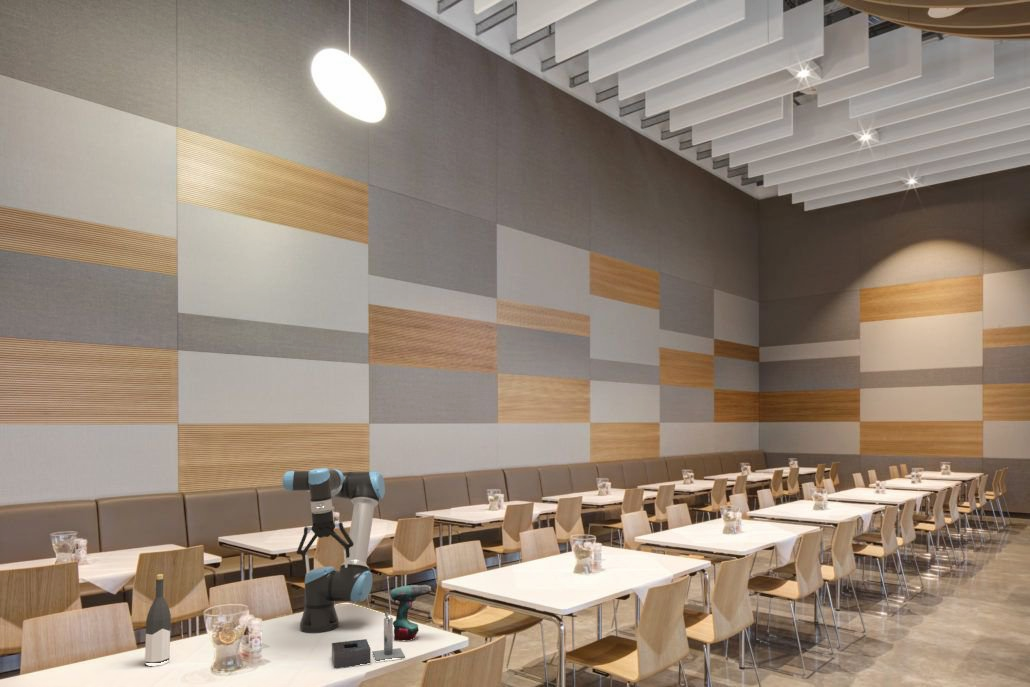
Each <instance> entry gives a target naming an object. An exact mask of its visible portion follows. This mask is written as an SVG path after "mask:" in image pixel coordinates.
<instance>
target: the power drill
mask: <svg viewBox="0 0 1030 687" xmlns="http://www.w3.org/2000/svg"><path fill="white" fill-rule="evenodd" d="M431 592H432V587H431V586H430V585H427V584H424V585H423V584H422V585H418V584H414V585H413V584H411V585H403V586H398V587H395V588H393V589H391V590H390V594H389V595H390V598H391V600H392V601H398V602H399V605H398V608H397V612H396V616H395V620H393V635H394V636H393V641H394V640H410V641H412V640H414V639H415V638H416V637H415V636H417V633H418V632H419V625H418V623H414V622H413V621H410V620H409V619H408V612H409V609H410V608H412V607H413V602H415V601H416V599H417V598H419V597H421V596H425V595H429V594H430V593H431ZM413 638H414V639H413ZM411 639H412V640H411Z"/></svg>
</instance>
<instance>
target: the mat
mask: <svg viewBox="0 0 1030 687" xmlns="http://www.w3.org/2000/svg"><path fill="white" fill-rule="evenodd" d="M371 653H373V654H372V656H373V655H374V656H373V658H374V657H375V659H374V661H375V660H376V661H380V660H385V659H392V658H405V659H406V656H405V654H404V652H403V650H402V648H401V647H398V648H393V654H392V655H384V649H382V650H372V651H371ZM376 661H375V662H376Z"/></svg>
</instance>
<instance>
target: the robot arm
mask: <svg viewBox="0 0 1030 687" xmlns="http://www.w3.org/2000/svg"><path fill="white" fill-rule="evenodd" d="M282 487H283V489H284V490H285V491H286V492H287V491H289V492H309V496H310V497H309V498H310V509H311V522H312V526H307V525H305V527H304V528H303V535H302V537H301V540H300V543H299V546H298V548H297V549H296V554H297V555H301V557H302V558H301V559H302V564H303V565H305V568H306V573H305V577H304V610H303V612H302V617H301V620H300V623H299V630H300V629H301V630H302V631H301V630H300V631H301V632H303V631H306V632H305V633H311V632H315V633H324V632H323V631H325V632H328V630H329V631H333V630H335V629H337V628H338V627H339V624H340V623H339V622H340V621H339V617H338V614H337V610H336V607H335V602H352V603H356V602H363V601H365V600H366V599H368V597H369V595H370V593H371V590H372V586H373V581H374V580H373V578H374V577H373V574H372V572H371V571H370V567H369V566H368V565H367V564H368V563H367V560H368V559H367V558H368V553H369V545H370V539H371V531H372V524H373V520H374V519H373V518H374V512H375V508H376V507H377V506H378V505H379V502H380V500H382V499H383V498H384V496H385V494H386V484H385V479H384V477H383V475H382V473H381V472H379V471H371V470H370V471H344V472H342V471H341V470H339V469H338V468H337V469H336V468H333V469H332V468H331V469H329V468H326V467H320V468H315V469H310V470H291V471H290V470H289V471H286V472H285V473H284V474H283V477H282ZM332 497H334V498H339V499H343V500H344V499H347V500H350V502H351V503H352V505H353V509H352V510H353V511H352V515H351V516H352V517H351V522H350V530H349V534H348V532H347V531H346V529H345V526H344V524H343V521H339V522H337V523H335V521H334V511H333V499H332ZM335 528H337V529H338V530H340V532H341V534H342V535H343V536H344V538H345V540H346V541H345V540H344V539H343V538H342V537H341V536H339V535H338V533H336V531H335ZM311 531H312V532H313V536H312V537H311V539H310V540H309V542H308V543H307V544H306V546H305V547H304V548H303V546H304V543H305V542H306V538H307V536H308V535H309V534H310V533H311ZM330 536H331V537H332V538H334V539H335V541H337V542H338V543H339V544H340V545H341V546H342V547H343V559H344V561H343V563H341V564H340V566H339V568H340V569H339V570H336V569H335V567H334V566H324V567H323V566H322V567H319V568H314V569H311V568H310V560H309V559H310V558H309V553H307V552H308V551H309V549H310V548H311V547H312V545H313V544H314V542H315V541H316V539H317V538H320V539H322V538H329V537H330ZM302 549H303V550H302ZM332 629H333V630H332Z"/></svg>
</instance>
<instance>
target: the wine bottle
mask: <svg viewBox="0 0 1030 687" xmlns="http://www.w3.org/2000/svg"><path fill="white" fill-rule="evenodd" d="M164 580H165V578H164V574H162V573H160V574H157V575H156V579H155V598H154V600H153V602H152V603H151V604H150V605H151V606H150V607H149V611H148V613H147V615H146V620H145V622H146V623H145V654H144V663H145V662H146V663H161V662H164V661H167V660H169V661H170V654H171V652H170V651H171V647H170V646H171V620H172V619H171V618H172V616H171V615H172V614H171V610H170V607H169V604H168V602H167V601H166V599H165V597H164Z"/></svg>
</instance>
